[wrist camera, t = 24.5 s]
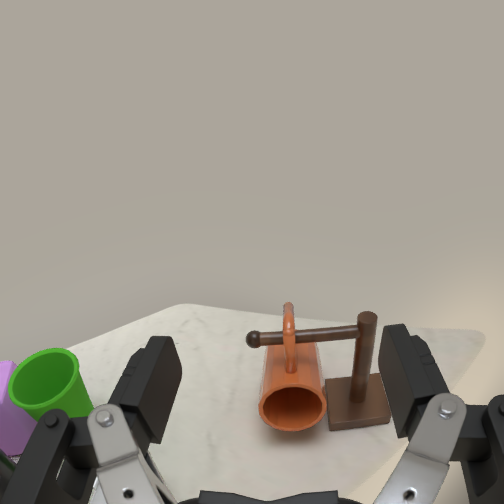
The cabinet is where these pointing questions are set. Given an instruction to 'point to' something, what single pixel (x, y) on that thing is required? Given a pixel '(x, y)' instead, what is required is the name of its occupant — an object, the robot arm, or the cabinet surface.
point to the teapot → (12, 416)
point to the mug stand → (346, 388)
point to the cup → (50, 384)
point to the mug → (292, 381)
